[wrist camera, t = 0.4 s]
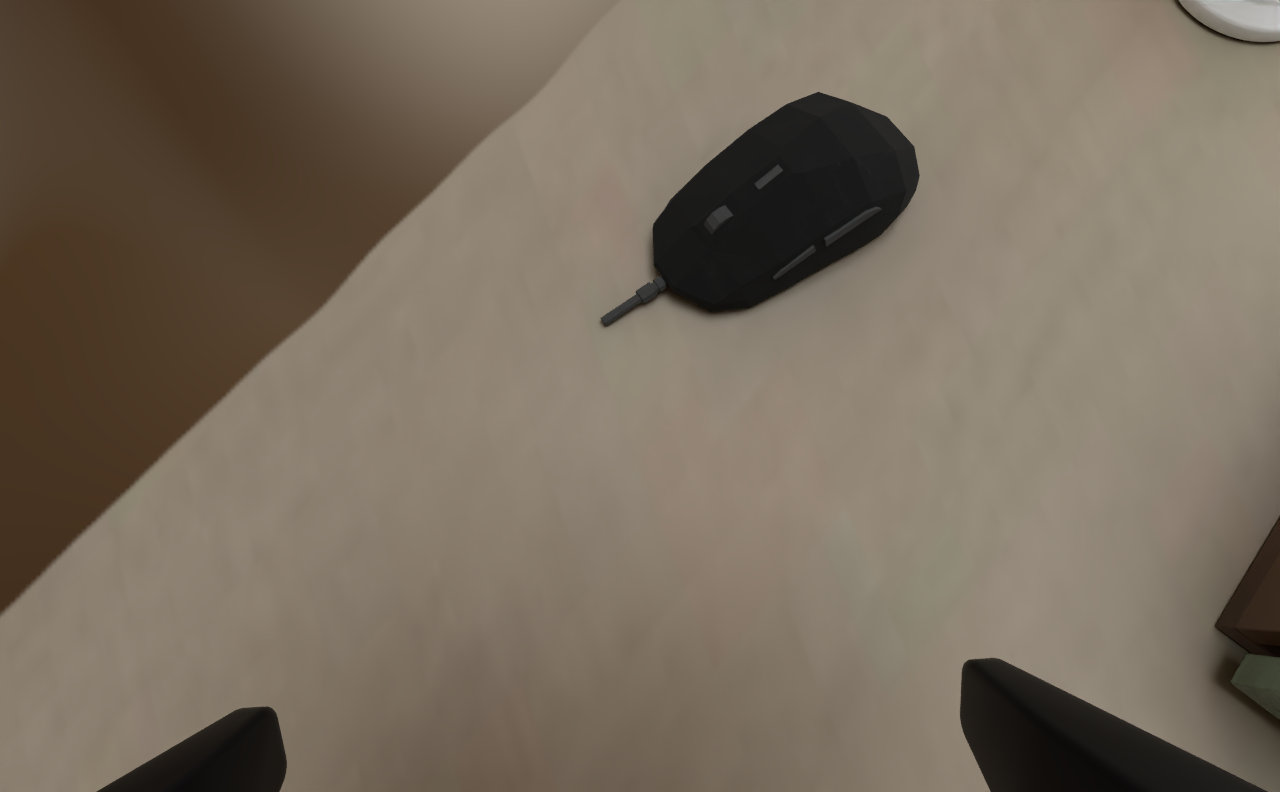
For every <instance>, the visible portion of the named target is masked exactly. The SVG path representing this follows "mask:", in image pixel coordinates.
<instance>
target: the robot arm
mask: <svg viewBox="0 0 1280 792" xmlns="http://www.w3.org/2000/svg"><path fill="white" fill-rule="evenodd" d="M960 719H961V725H962V729H963V732H964V735H965V737H966V740H967V742H968V744H969V746H970V748H971V750H972V752H973V755H974V757H975V759H976V761H977V763H978V765H979V768H980V770H981V772H982V774H983V776H984V778H985V780H986V783H987V785H988V787H989V789H990V791H991V792H1267V791H1265V790H1263V789H1261V788H1259V787H1257V786H1255V785H1253V784H1251V783H1249V782H1247V781H1245V780H1243V779H1241V778H1239V777H1237V776H1235V775H1233V774H1231V773H1229V772H1227V771H1225V770H1223V769H1221V768H1219V767H1217V766H1215V765H1213V764H1211V763H1209V762H1207V761H1205V760H1203V759H1201V758H1198V757H1196V756H1194V755H1192V754H1190V753H1188V752H1186V751H1184V750H1182V749H1180V748H1178V747H1176V746H1174V745H1172V744H1170V743H1168V742H1166V741H1164V740H1162V739H1160V738H1158V737H1156V736H1154V735H1152V734H1150V733H1148V732H1146V731H1144V730H1142V729H1140V728H1138V727H1136V726H1134V725H1132V724H1130V723H1128V722H1126V721H1124V720H1122V719H1120V718H1118V717H1116V716H1114V715H1112V714H1110V713H1108V712H1106V711H1104V710H1102V709H1100V708H1098V707H1096V706H1094V705H1092V704H1090V703H1088V702H1086V701H1084V700H1081V699H1079V698H1077V697H1075V696H1073V695H1071V694H1069V693H1067V692H1065V691H1063V690H1061V689H1059V688H1057V687H1055V686H1053V685H1051V684H1049V683H1047V682H1045V681H1043V680H1041V679H1039V678H1037V677H1035V676H1033V675H1031V674H1029V673H1027V672H1025V671H1023V670H1021V669H1019V668H1017V667H1015V666H1013V665H1011V664H1009V663H1007V662H1005V661H1003V660H1001V659H997V658H986V659H972V660H968V661H967V662H965V663H964V665H963V668H962V681H961V704H960ZM286 768H287V760H286V754H285V749H284V745H283V740H282V736H281V731H280V726H279V722H278V717H277V714H276V712H275V711H274V710H273V709H272V708H270V707H252V708H241V709H238V710H235V711H234V712H232V713H230V714H228V715H227V716H225V717H223V718H222V719H220V720H218V721H216V722H215V723H213V724H211V725H210V726H208V727H206V728H204V729H203V730H201V731H199V732H198V733H196V734H194V735H193V736H191V737H189V738H187V739H186V740H184V741H182V742H181V743H179V744H177V745H175V746H174V747H172V748H170V749H169V750H167V751H165V752H163V753H162V754H160V755H158V756H157V757H155V758H153V759H152V760H150V761H148V762H146V763H145V764H143V765H141V766H140V767H138V768H136V769H134V770H133V771H131V772H129V773H128V774H126V775H124V776H123V777H121V778H119V779H117V780H116V781H114V782H112V783H111V784H109V785H107V786H105V787H104V788H102V789H100V790H99V791H97V792H279V791H280V789H281V787H282V784H283V781H284V778H285V774H286Z"/></svg>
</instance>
